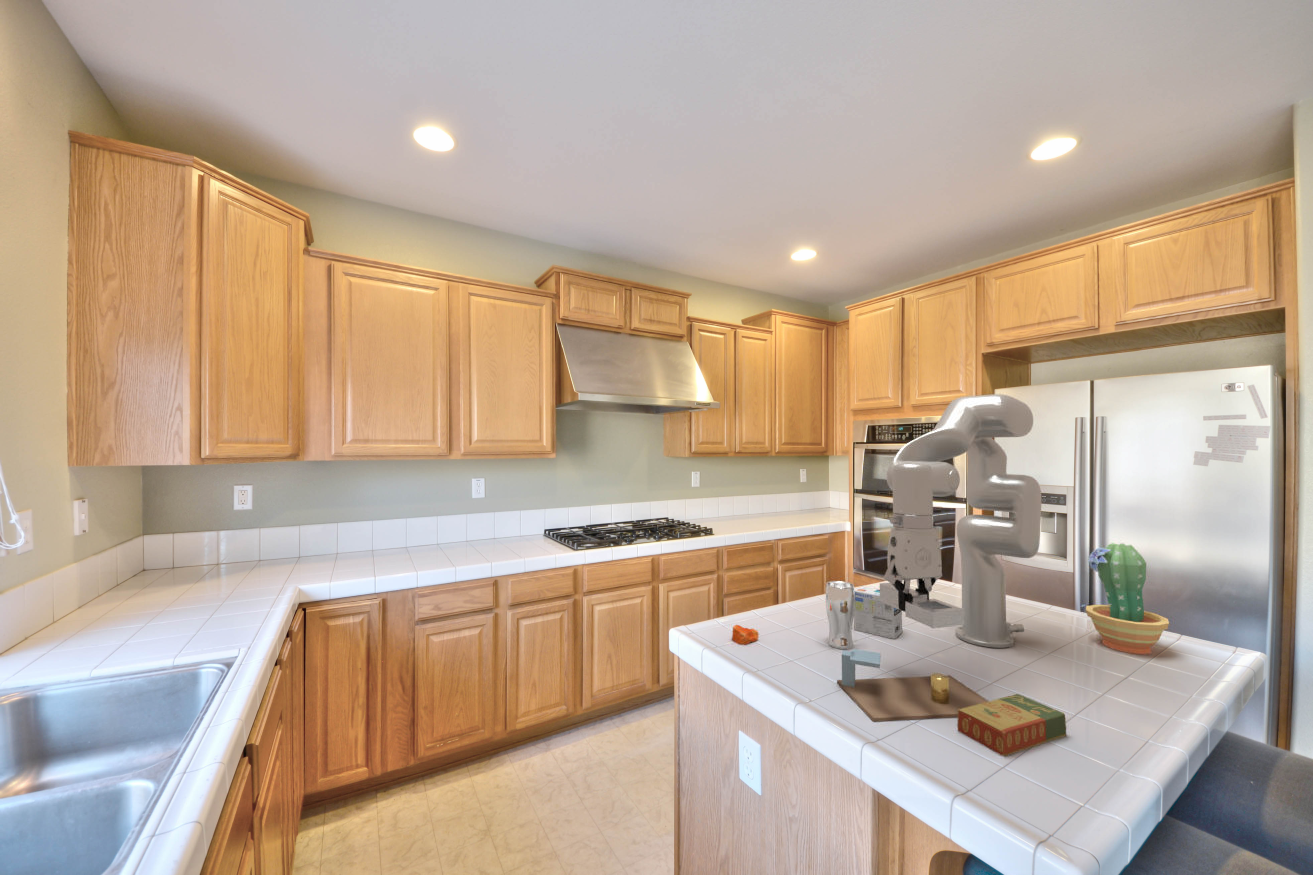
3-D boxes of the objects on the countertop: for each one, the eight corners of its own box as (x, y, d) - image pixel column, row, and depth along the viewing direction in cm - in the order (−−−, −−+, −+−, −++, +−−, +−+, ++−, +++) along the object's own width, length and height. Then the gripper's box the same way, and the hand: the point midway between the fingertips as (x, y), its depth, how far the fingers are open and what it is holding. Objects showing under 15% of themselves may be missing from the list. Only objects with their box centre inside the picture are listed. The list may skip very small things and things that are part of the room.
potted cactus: (1097, 631, 136) (1095, 536, 137) (1179, 650, 124) (1176, 546, 124) (1075, 643, 128) (1073, 543, 128) (1160, 665, 115) (1157, 553, 116)
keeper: (880, 686, 106) (880, 652, 106) (880, 699, 100) (879, 664, 100) (843, 679, 109) (843, 647, 109) (841, 691, 103) (840, 657, 103)
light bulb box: (903, 632, 136) (902, 591, 136) (895, 640, 131) (894, 597, 131) (862, 623, 143) (861, 584, 143) (853, 630, 138) (852, 590, 138)
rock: (779, 645, 129) (779, 628, 130) (744, 656, 123) (744, 638, 123) (745, 631, 139) (745, 615, 139) (711, 640, 132) (711, 624, 133)
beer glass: (851, 639, 131) (850, 581, 131) (859, 650, 124) (858, 588, 124) (823, 639, 132) (822, 580, 132) (829, 649, 125) (829, 587, 125)
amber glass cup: (942, 696, 100) (942, 672, 100) (952, 703, 97) (952, 679, 97) (927, 696, 100) (927, 673, 100) (937, 704, 97) (937, 680, 97)
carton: (956, 732, 89) (955, 707, 89) (1017, 714, 95) (1017, 691, 95) (1004, 758, 82) (1003, 731, 82) (1067, 737, 88) (1067, 711, 88)
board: (950, 678, 109) (950, 675, 109) (1003, 714, 94) (1003, 711, 94) (837, 683, 107) (836, 680, 107) (873, 721, 92) (873, 718, 92)
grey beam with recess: (963, 624, 99) (963, 604, 99) (933, 628, 97) (932, 607, 97) (900, 599, 116) (899, 581, 116) (872, 602, 114) (872, 583, 114)
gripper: (891, 526, 101) (892, 619, 101) (959, 523, 106) (961, 612, 105) (866, 521, 109) (867, 608, 108) (931, 518, 113) (932, 602, 113)
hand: (913, 609), depth 107 cm, fingers closed on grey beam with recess, 3 cm apart
